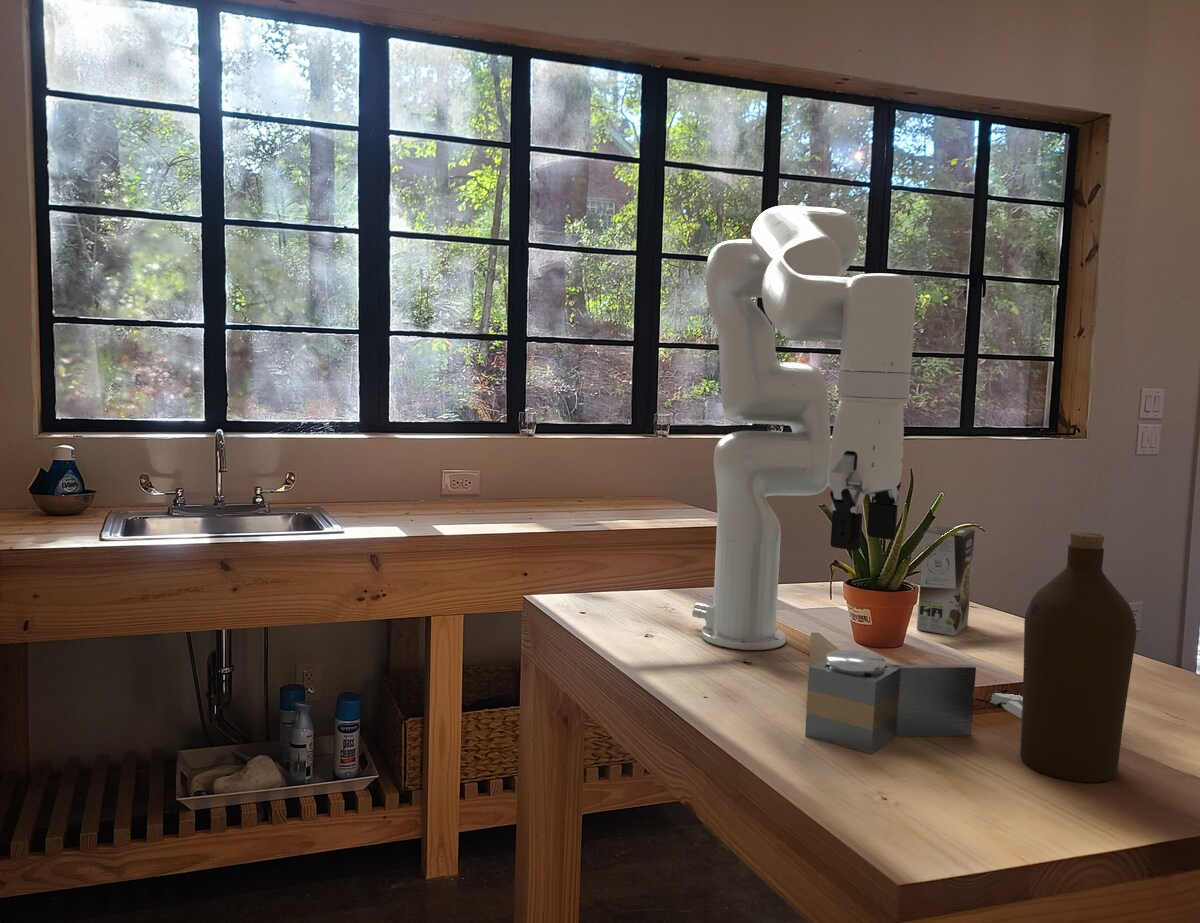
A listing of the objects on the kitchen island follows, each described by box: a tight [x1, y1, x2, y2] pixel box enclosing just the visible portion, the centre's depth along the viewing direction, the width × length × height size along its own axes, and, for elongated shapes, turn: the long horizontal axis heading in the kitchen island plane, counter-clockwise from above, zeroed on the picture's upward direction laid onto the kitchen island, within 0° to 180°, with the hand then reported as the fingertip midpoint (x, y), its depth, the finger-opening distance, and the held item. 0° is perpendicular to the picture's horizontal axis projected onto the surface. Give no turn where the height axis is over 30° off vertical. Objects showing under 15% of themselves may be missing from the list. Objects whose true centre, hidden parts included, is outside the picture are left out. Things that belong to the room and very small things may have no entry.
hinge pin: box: [826, 649, 887, 677], centre depth 112 cm, size 6×6×8 cm
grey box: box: [804, 632, 977, 755], centre depth 115 cm, size 20×14×8 cm
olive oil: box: [1019, 531, 1137, 783], centre depth 105 cm, size 11×11×25 cm
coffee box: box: [916, 526, 976, 637], centre depth 162 cm, size 9×6×16 cm
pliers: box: [990, 692, 1023, 720], centre depth 128 cm, size 10×2×15 cm
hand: (863, 542), depth 111 cm, fingers open, 9 cm apart
